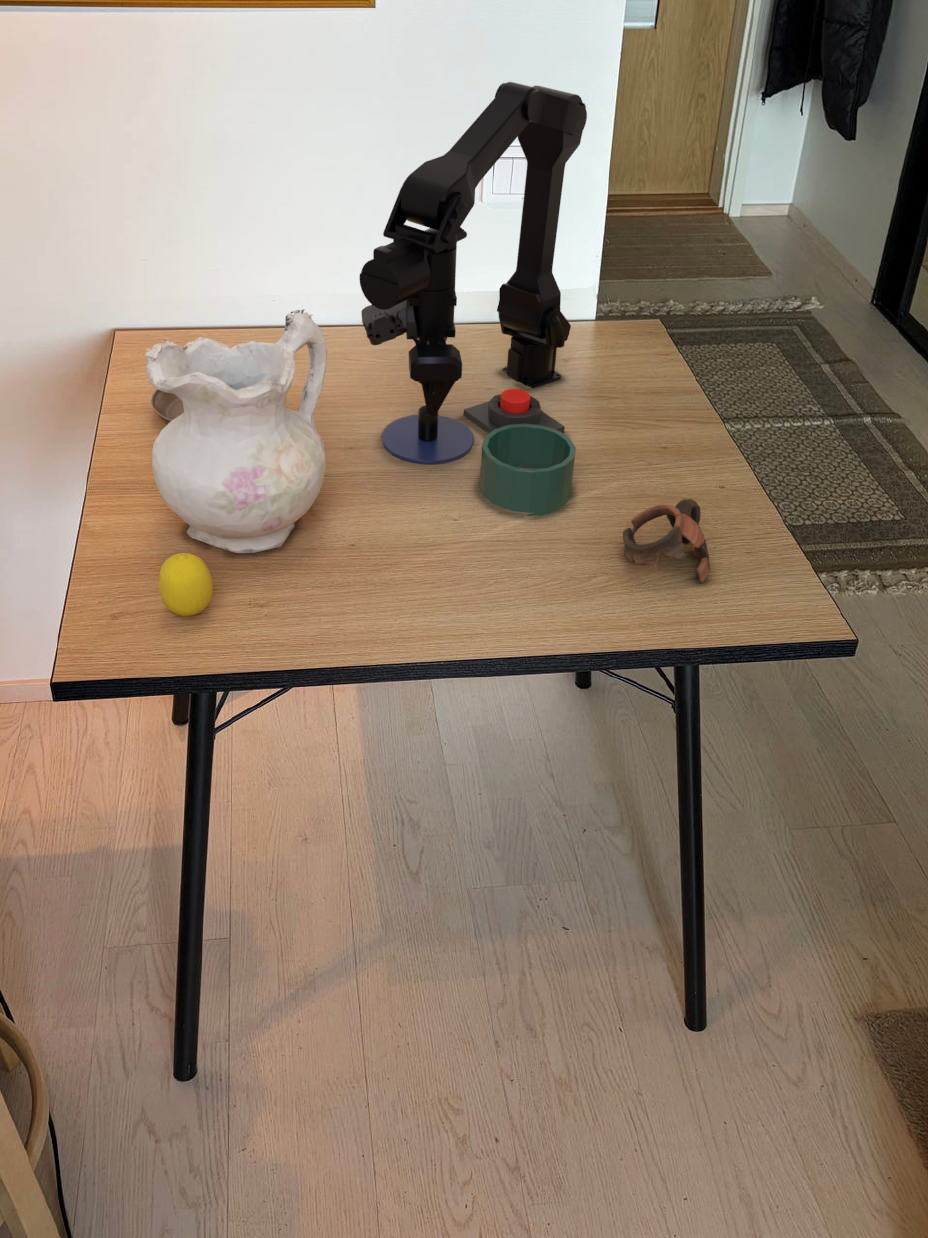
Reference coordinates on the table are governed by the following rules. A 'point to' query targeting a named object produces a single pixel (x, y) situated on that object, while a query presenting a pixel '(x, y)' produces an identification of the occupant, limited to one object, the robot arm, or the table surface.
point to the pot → (522, 485)
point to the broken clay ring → (669, 536)
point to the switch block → (508, 416)
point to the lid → (427, 438)
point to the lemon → (185, 584)
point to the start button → (515, 401)
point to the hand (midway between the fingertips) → (428, 397)
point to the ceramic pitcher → (240, 436)
